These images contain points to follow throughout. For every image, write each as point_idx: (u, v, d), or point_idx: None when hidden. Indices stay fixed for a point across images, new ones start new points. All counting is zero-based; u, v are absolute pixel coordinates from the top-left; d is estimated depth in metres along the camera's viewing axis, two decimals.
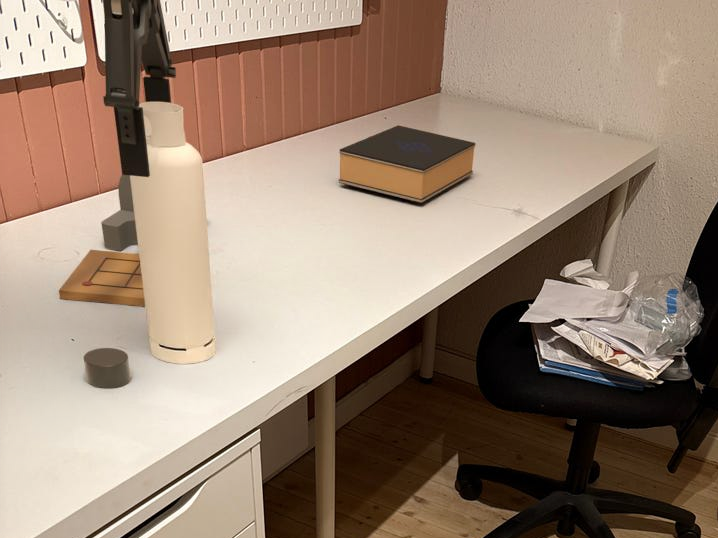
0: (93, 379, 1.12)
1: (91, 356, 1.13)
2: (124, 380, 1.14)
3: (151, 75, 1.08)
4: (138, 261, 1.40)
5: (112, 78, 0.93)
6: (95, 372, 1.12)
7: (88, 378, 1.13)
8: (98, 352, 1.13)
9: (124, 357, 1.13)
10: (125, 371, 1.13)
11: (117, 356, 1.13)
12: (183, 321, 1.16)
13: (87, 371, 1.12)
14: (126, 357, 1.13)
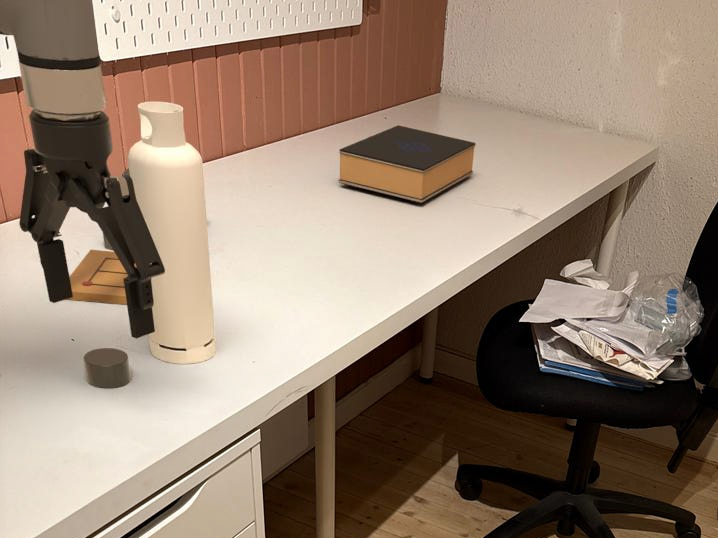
0: (93, 379, 1.12)
1: (91, 356, 1.13)
2: (124, 380, 1.14)
3: (44, 241, 1.07)
4: None
5: (145, 256, 1.00)
6: (95, 372, 1.12)
7: (88, 378, 1.13)
8: (98, 352, 1.13)
9: (124, 357, 1.13)
10: (125, 371, 1.13)
11: (117, 356, 1.13)
12: (183, 321, 1.16)
13: (87, 371, 1.12)
14: (126, 357, 1.13)
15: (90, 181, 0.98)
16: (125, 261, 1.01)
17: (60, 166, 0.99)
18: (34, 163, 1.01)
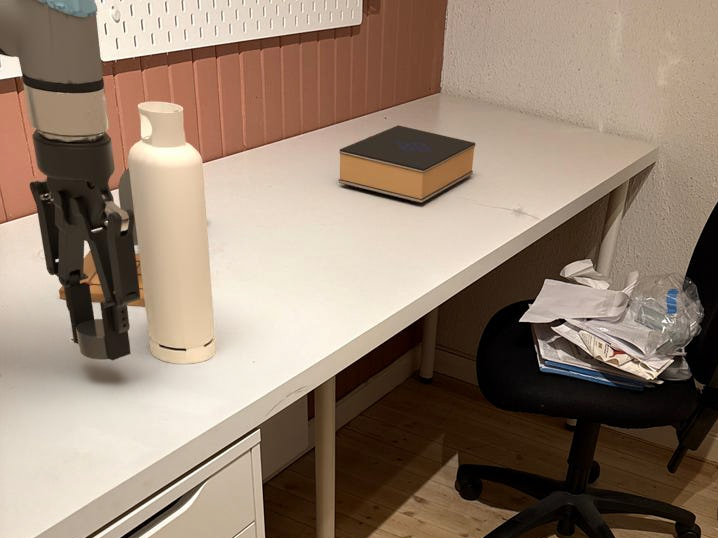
0: (85, 350, 1.10)
1: (84, 327, 1.10)
2: None
3: (71, 284, 1.09)
4: (138, 261, 1.40)
5: (126, 286, 1.04)
6: (88, 343, 1.09)
7: (81, 349, 1.11)
8: (91, 323, 1.11)
9: None
10: None
11: None
12: (183, 321, 1.16)
13: (80, 342, 1.10)
14: None
15: (92, 201, 0.99)
16: (105, 287, 1.05)
17: (62, 185, 1.00)
18: (40, 192, 1.03)
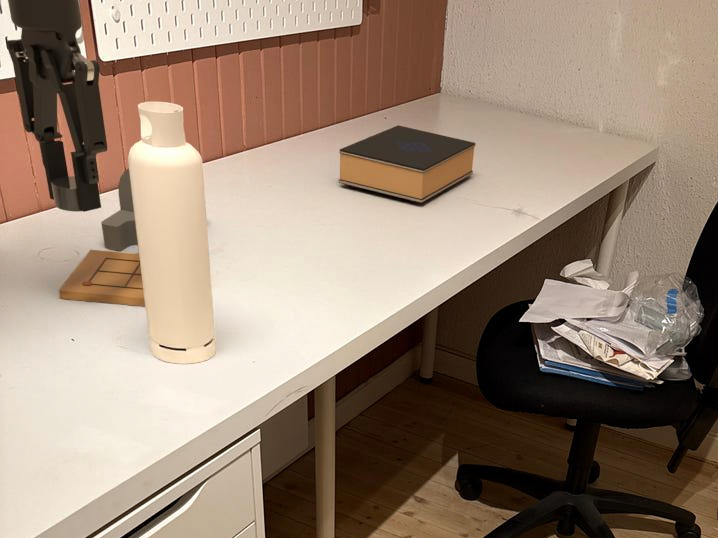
0: (60, 202, 1.21)
1: (58, 181, 1.21)
2: None
3: (46, 141, 1.19)
4: (138, 261, 1.40)
5: (93, 135, 1.14)
6: (62, 195, 1.20)
7: (55, 202, 1.21)
8: (65, 179, 1.22)
9: None
10: None
11: None
12: (183, 321, 1.16)
13: (54, 194, 1.20)
14: None
15: (60, 52, 1.09)
16: (75, 137, 1.15)
17: (34, 39, 1.11)
18: (15, 50, 1.13)
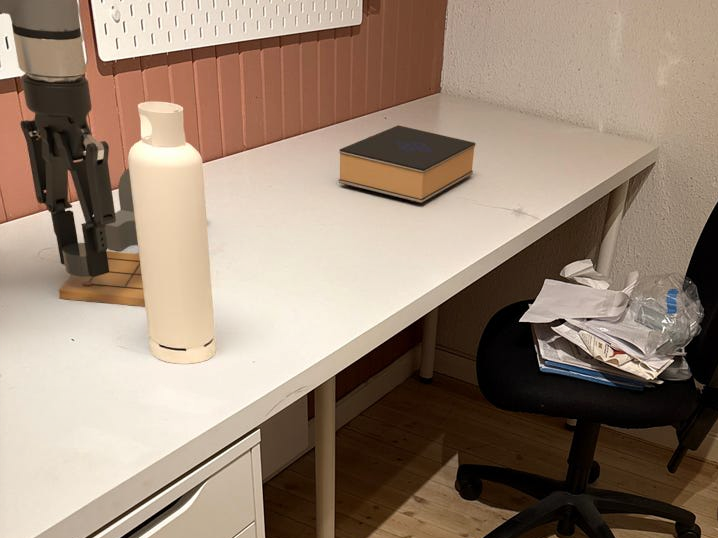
0: (70, 268, 1.28)
1: (69, 248, 1.28)
2: None
3: (57, 211, 1.27)
4: (138, 261, 1.40)
5: (103, 208, 1.22)
6: (73, 261, 1.28)
7: (66, 268, 1.29)
8: (75, 245, 1.29)
9: None
10: None
11: None
12: (183, 321, 1.16)
13: (65, 261, 1.28)
14: None
15: (72, 134, 1.17)
16: (86, 210, 1.23)
17: (47, 122, 1.18)
18: (29, 129, 1.21)
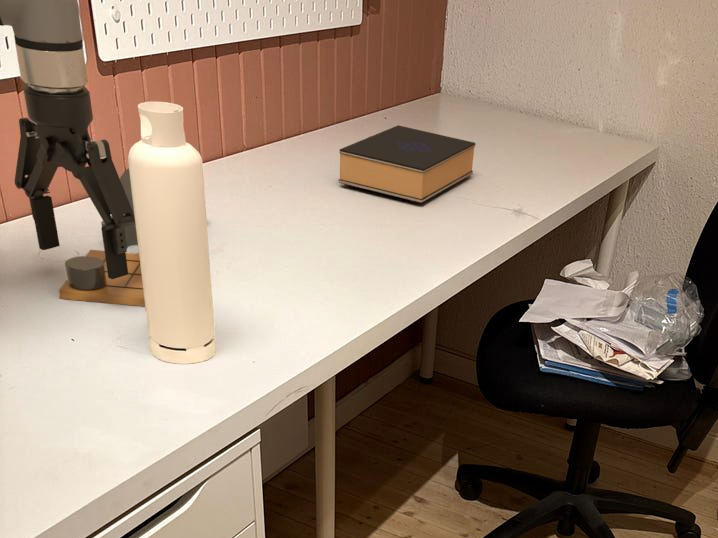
0: (73, 282, 1.29)
1: (71, 262, 1.30)
2: (100, 283, 1.31)
3: (35, 196, 1.28)
4: (138, 261, 1.40)
5: (119, 207, 1.20)
6: (75, 275, 1.29)
7: (69, 281, 1.30)
8: (78, 259, 1.31)
9: (100, 263, 1.30)
10: (101, 275, 1.30)
11: (94, 262, 1.30)
12: (183, 321, 1.16)
13: (68, 275, 1.29)
14: (102, 263, 1.30)
15: (74, 144, 1.18)
16: (102, 212, 1.21)
17: (49, 132, 1.19)
18: (27, 129, 1.21)
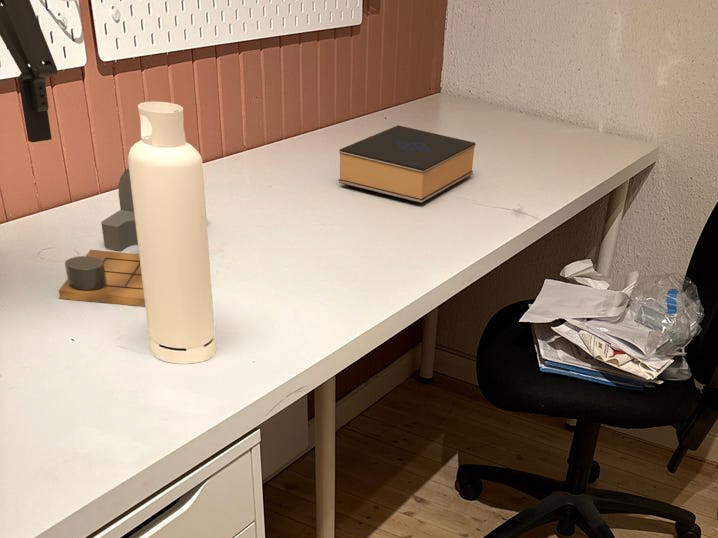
0: (73, 282, 1.29)
1: (71, 262, 1.30)
2: (100, 283, 1.31)
3: None
4: (138, 261, 1.40)
5: (37, 53, 1.06)
6: (75, 275, 1.29)
7: (69, 281, 1.30)
8: (78, 259, 1.31)
9: (100, 263, 1.30)
10: (101, 275, 1.30)
11: (94, 262, 1.30)
12: (183, 321, 1.16)
13: (68, 275, 1.29)
14: (102, 263, 1.30)
15: None
16: (18, 59, 1.07)
17: None
18: None
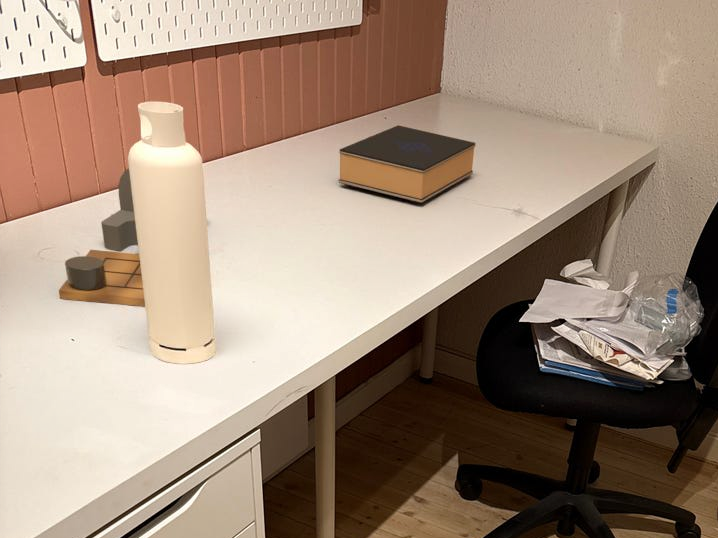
0: (73, 282, 1.29)
1: (71, 262, 1.30)
2: (100, 283, 1.31)
3: None
4: (138, 261, 1.40)
5: None
6: (75, 275, 1.29)
7: (69, 281, 1.30)
8: (78, 259, 1.31)
9: (100, 263, 1.30)
10: (101, 275, 1.30)
11: (94, 262, 1.30)
12: (183, 321, 1.16)
13: (68, 275, 1.29)
14: (102, 263, 1.30)
15: None
16: None
17: None
18: None
